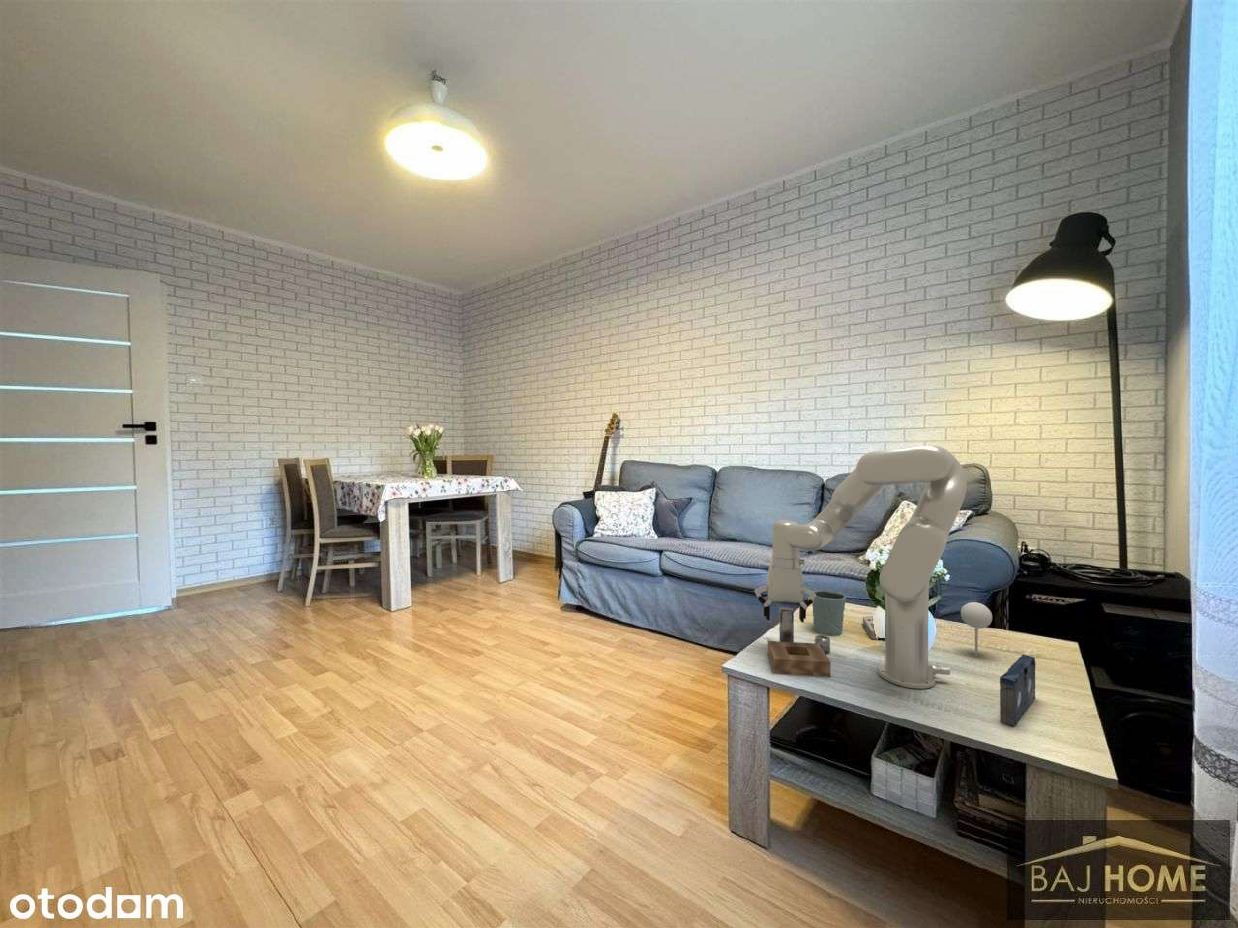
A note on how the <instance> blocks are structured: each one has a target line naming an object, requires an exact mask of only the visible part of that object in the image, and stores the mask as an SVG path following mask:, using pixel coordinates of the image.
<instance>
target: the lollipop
mask: <svg viewBox="0 0 1238 928" xmlns="http://www.w3.org/2000/svg"><path fill="white" fill-rule="evenodd" d="M960 616H961V619H962V621H963V622H964V623H965V624H966V625H967V626H969V627H970V628H974V656H976V657H977V656H979V653H978V652H979V648H978V647H979V645H978V644H979V639H978V638H979V631H978V630H979V629H985V628H988V627H989V626H990V625H991V623H992V621H993V614H992V611H991V610H990V609H989V608H988V606H986V605H985V604H983V603H980V602H976V601H972V602H967V603H966V604H964V605H963V606H962V607H961V610H960Z"/></svg>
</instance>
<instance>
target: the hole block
mask: <svg viewBox="0 0 1238 928" xmlns="http://www.w3.org/2000/svg"><path fill="white" fill-rule="evenodd" d="M767 656H769V657H768V659H770V660H769V662H771V663H770V665H772V666H771V668H773V669H772V671H773V674H774V675H787V676H802V677H803V676H805V677H821V678H831V677H832V676H831V675H832V674H831V660H830V659H829V657H828V655H827V654H825V652H824V651H823V649H822V648H821V646H820V644H818V643H815V642H812V643H811V642H795V641H794V642H780V641H778V640H776V641H775V640H767Z"/></svg>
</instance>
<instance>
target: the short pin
mask: <svg viewBox="0 0 1238 928" xmlns="http://www.w3.org/2000/svg"><path fill="white" fill-rule="evenodd" d="M814 643H818V644H820V646H821V648H822V649H823V651H824V652H825V654H826V655H829V654H830V653H831V639H830V636H827V635H823V634H821V635H820V634H819V635H815V636H814Z"/></svg>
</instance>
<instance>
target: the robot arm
mask: <svg viewBox="0 0 1238 928" xmlns="http://www.w3.org/2000/svg"><path fill="white" fill-rule="evenodd" d="M967 481H968V480H967V476H966V473H965V470H964V468H963V466H962V465H961V463H960V462H959V461H958V459H957V458H956V457H955V456H954V455H953V454H952V453H951V452H950V451H949V450H947V449H946V448H943V447H942V446H940V445H939V446H938V445H922V446H916V447H915V446H913V447H907V448H899V449H898V448H897V449H890V450H877V451H876V450H875V451H869V452H868V453H865V454H863V455H862V456H861V457H860V458H859V459H858V461H857V462H856V467H855V468H854V469H853V470H852V471H851V472H850V474H849V475H848V476H847V477H846V478H845V479H844V480H843V481H842V482H841V483H840V484H839V485H838V486H837V487H836V488H835V489H834V491H833V492H832V495H831V499H830V501H829V502H828V503H827V504H826V506H825V507H824V508H823V509H822V510H821V512H820V513H818V515H817V516H816V517H815V518H813V520H811V521H810V522H807V523H804V524H799V522H797V521H795V520H787V519H780V520H779V519H778V520H775V521H774V522H773V525H772V547H771V548H772V555H771V556H772V557H771V564H770V565H769V566H768V570H767V575H766V584H765V585H762V586H760V587H757V588H755V589H754V593H755V595H756V597H757V599H758V602H760V603H761V604H762V605H763V617H765V619H766V621H769V620H770V616H771V614H770V612H771V610H770V609H771V608H770V604H771V603H772V602H781V603H782V602H783V603H799V608H798V609H799V611H798V614H799V615H798V619H799V621H800V622H801V623H805V620H806V617H807V609H808V607H810V606H811V605H812V603H813V600H814V599H815V597H816V594H815V593H814V592H813V590H811V589H808V588H807V587H804V577H803V570H802V567H801V565H805V558H804V559H802V558H801V557H800V549H801V550H803V551H808V552H815V551H818V550H819V549H821V548H823V547H825V546H826V545H827V544H829V543H830V542H831V541H832V540H833V539H834V538H835V537H836V536H837V535H838V534H839V533H840V532H841V531H842V530H844V528H845V527H846V526H847V525H848V524H849V523H850V522H851V521H852V520H853V519H854V518H855V517H857V516H858V515H859V514H860V513H861V512H862V511H863V510H864V509H865V508H866V507H867V505H868V504H870V502H872V501H873V500H874V499H875V498H876V496H877V495H879V494H880V492H882V491H883V490H884V489H885V488H886V487H887V486H891V485H893V486H894V485H903V484H915V483H916V484H917V483H925V484H924V489H923V491H922V493H921V496H920V498H919V500H918V502H917V505H916V506H915V509H914V510H913V513H912V515H911V517H910V519H909V520H908V522H907V523H906V524H905V525H904V526H903V527H902V528H901V529H900V531H899V533H898V535H897V537H896V539H895V540H894V543H893V545H892V548H891V550H890V552H889V554H888V556H887V558H886V560H885V563H884V564H883V567H882V568H881V571H880V574H879V584H880V587H881V589H882V591H883V592H884V593H885V596H884V598H885V599H884V617H885V639H884V662H883V663H881V664H880V665H879V666H878V670H877V672H878V674H879V676H880V677H882V679H884V680H885V681H888V682H889V683H892V684H894V685H898V686H900V687H905V688H909V689H918V690H919V689H922V690H923V689H930V688H932V687H934V686H936V677H935V676H937V675H946V676H950V675H951V669H950V667H949V666H943V665H942V666H940V664H939V663H938V662H929V599H930V598H929V595H930V579H931V577H932V575H933V574H934V572H935V569H936V567H937V566H938V564H939V562H940V560H941V557H942V555H943V554H944V551H945V548H946V545H947V542H948V537H949V534H950V532H951V529H952V527H953V525H954V523H955V521H956V519H957V516H958V515H959V512H960V510H961V507H962V506H963V504H964V500H965V498H966V494H967V489H968V488H967V487H968V485H967V484H968V482H967ZM764 592H766V597H765V598H764V597H763V596H762V593H764ZM805 594H806V595H808V598H807V599H804V596H805Z"/></svg>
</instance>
